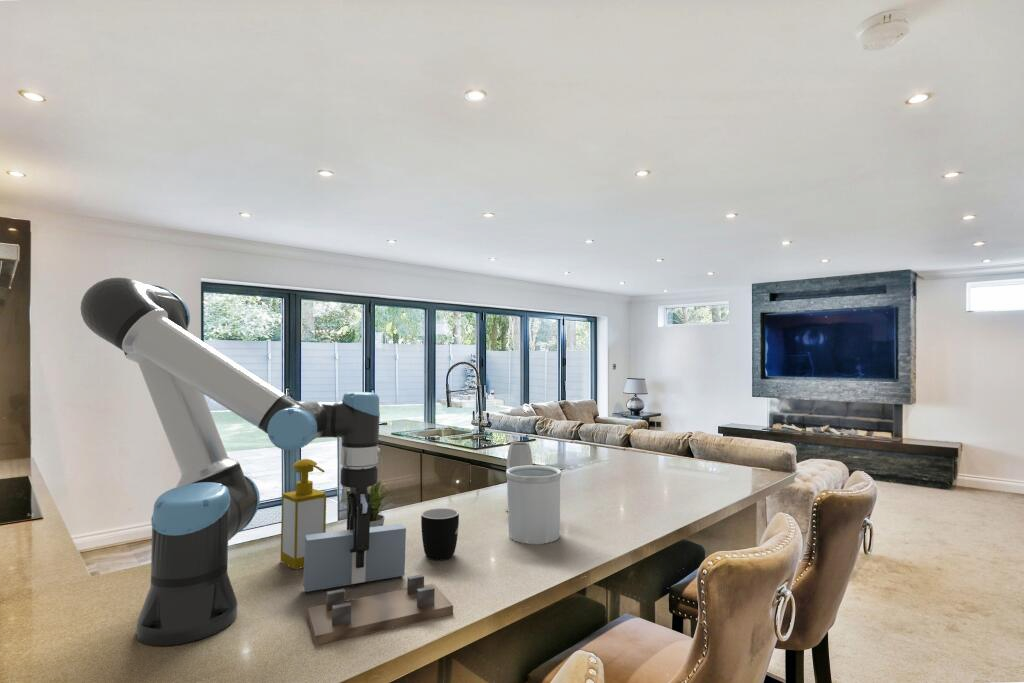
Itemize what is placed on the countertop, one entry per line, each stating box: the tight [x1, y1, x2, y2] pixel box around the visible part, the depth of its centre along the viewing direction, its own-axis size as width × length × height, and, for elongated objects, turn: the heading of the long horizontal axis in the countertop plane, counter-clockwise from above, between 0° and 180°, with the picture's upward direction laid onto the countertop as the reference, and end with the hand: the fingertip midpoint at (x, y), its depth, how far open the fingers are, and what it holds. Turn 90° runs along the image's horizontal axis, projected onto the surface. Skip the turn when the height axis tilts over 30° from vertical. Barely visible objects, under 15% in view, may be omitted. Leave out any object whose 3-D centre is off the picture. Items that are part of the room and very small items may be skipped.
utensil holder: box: [505, 464, 562, 545], centre depth 142 cm, size 15×15×18 cm
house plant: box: [341, 477, 396, 527], centre depth 137 cm, size 14×14×16 cm
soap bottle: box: [280, 458, 327, 570], centre depth 121 cm, size 7×13×24 cm, turn 47°
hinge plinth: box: [307, 573, 454, 646], centre depth 97 cm, size 24×11×4 cm, turn 117°
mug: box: [420, 507, 460, 561], centre depth 128 cm, size 12×9×10 cm
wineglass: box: [505, 441, 533, 512], centre depth 166 cm, size 9×9×21 cm
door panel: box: [302, 523, 407, 593], centre depth 111 cm, size 20×4×10 cm, turn 117°
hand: (356, 578), depth 110 cm, fingers closed on door panel, 4 cm apart
